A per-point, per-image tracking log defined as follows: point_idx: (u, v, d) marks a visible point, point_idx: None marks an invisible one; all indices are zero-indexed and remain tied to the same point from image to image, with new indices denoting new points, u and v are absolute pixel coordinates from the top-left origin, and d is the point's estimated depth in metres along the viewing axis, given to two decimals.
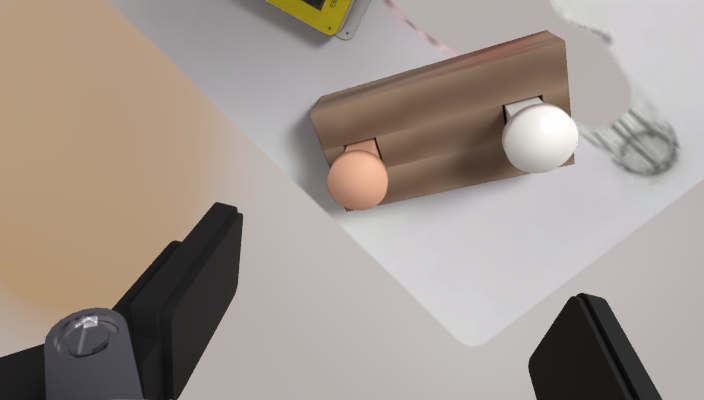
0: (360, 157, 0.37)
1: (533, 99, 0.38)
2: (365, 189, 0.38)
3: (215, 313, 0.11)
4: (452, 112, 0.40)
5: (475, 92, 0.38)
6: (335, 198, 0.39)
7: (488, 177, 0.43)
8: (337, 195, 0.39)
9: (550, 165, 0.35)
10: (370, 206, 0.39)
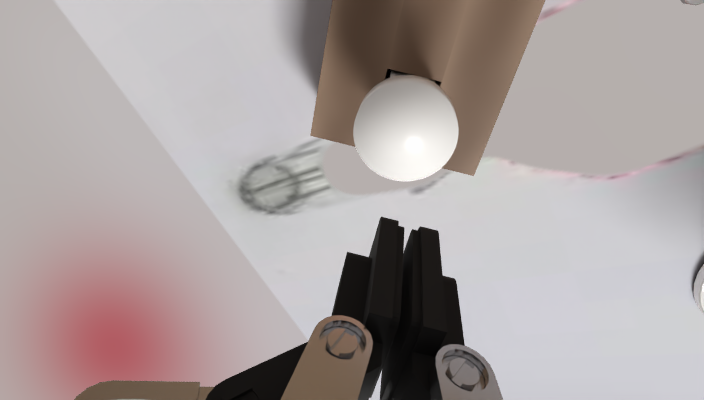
0: None
1: None
2: None
3: None
4: (474, 8, 0.24)
5: (481, 54, 0.25)
6: None
7: (338, 15, 0.25)
8: None
9: (361, 133, 0.22)
10: None
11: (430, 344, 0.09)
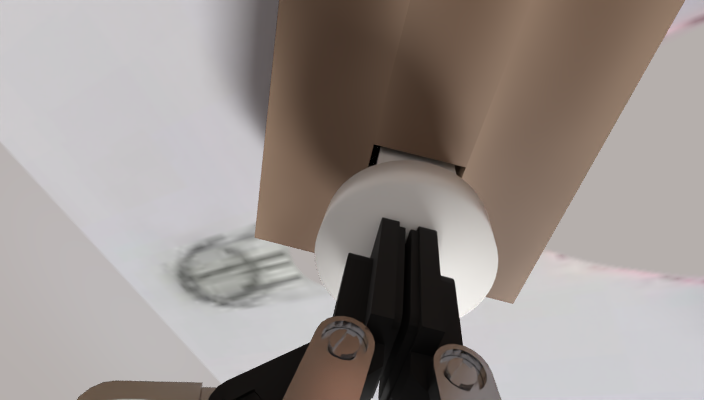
0: None
1: None
2: None
3: None
4: (529, 48, 0.13)
5: (537, 126, 0.14)
6: None
7: (287, 58, 0.14)
8: None
9: (329, 259, 0.13)
10: None
11: (428, 344, 0.09)
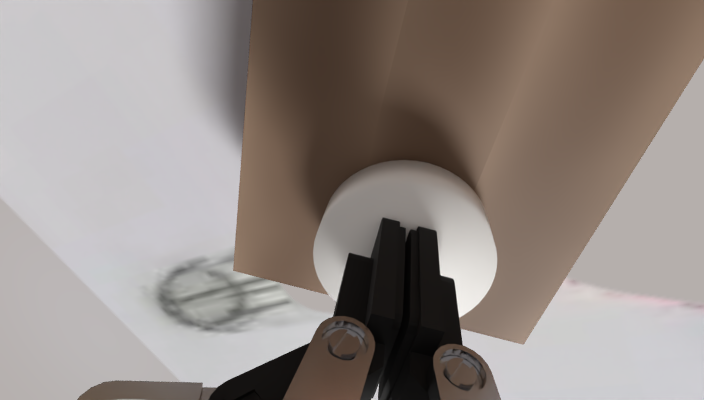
0: None
1: None
2: None
3: None
4: (547, 62, 0.11)
5: (556, 151, 0.12)
6: None
7: (264, 72, 0.12)
8: None
9: (327, 259, 0.13)
10: None
11: (428, 344, 0.09)
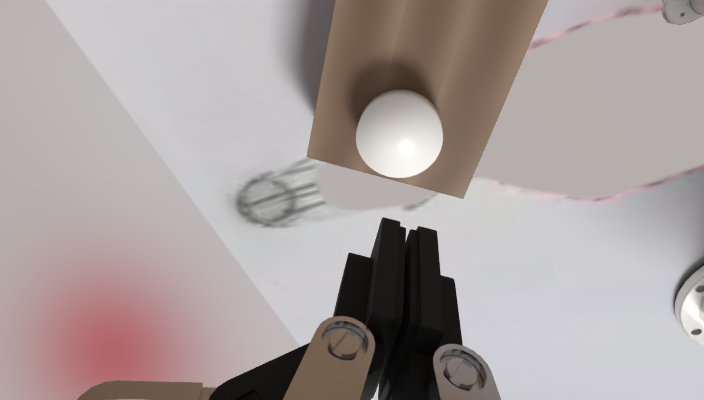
0: None
1: None
2: None
3: None
4: (465, 43, 0.25)
5: (471, 86, 0.26)
6: None
7: (335, 46, 0.26)
8: None
9: (362, 137, 0.27)
10: None
11: (428, 344, 0.09)
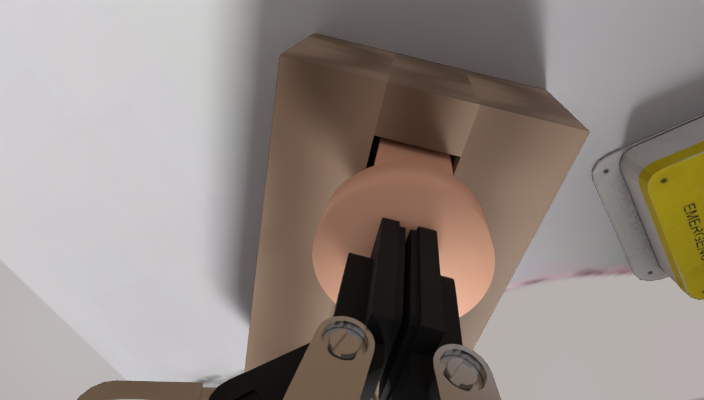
0: (467, 311, 0.13)
1: None
2: None
3: None
4: None
5: None
6: (390, 190, 0.12)
7: (257, 337, 0.24)
8: (397, 201, 0.12)
9: None
10: (316, 257, 0.13)
11: (428, 344, 0.09)
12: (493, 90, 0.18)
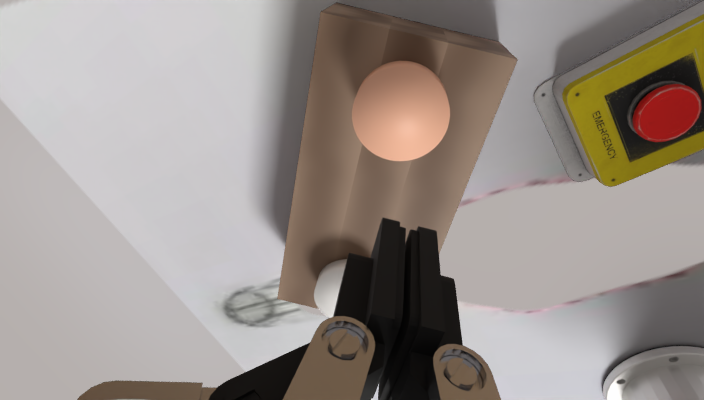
0: None
1: None
2: (385, 123, 0.24)
3: None
4: None
5: None
6: (395, 70, 0.22)
7: (294, 227, 0.33)
8: (398, 76, 0.23)
9: (319, 297, 0.33)
10: (354, 114, 0.24)
11: (428, 344, 0.09)
12: (459, 38, 0.27)
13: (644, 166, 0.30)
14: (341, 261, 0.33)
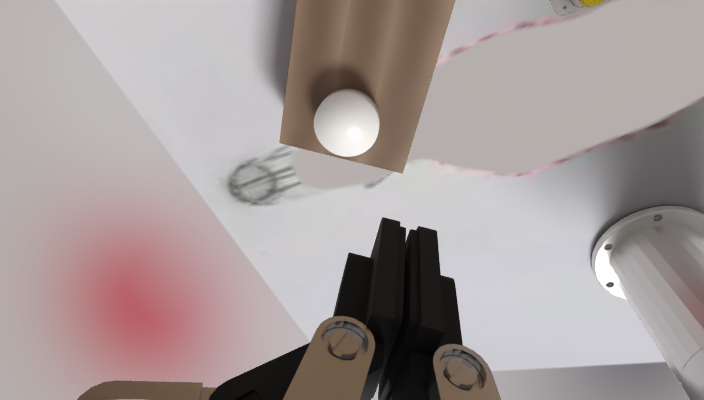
0: None
1: None
2: None
3: None
4: (392, 52, 0.34)
5: (400, 85, 0.35)
6: None
7: (296, 56, 0.35)
8: None
9: (319, 125, 0.35)
10: None
11: (428, 344, 0.09)
12: None
13: None
14: (339, 90, 0.35)
